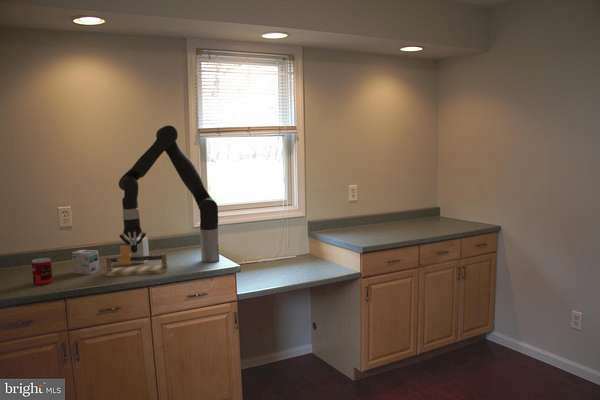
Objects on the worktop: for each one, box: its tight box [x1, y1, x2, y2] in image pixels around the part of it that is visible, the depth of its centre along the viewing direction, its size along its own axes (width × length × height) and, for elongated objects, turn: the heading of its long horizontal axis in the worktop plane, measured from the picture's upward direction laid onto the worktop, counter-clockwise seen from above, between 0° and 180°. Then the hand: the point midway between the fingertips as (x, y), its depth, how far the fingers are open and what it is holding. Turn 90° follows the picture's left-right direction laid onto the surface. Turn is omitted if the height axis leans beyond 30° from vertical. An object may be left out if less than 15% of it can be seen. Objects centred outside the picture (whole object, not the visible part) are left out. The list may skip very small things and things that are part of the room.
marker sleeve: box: [118, 245, 133, 266], centre depth 240 cm, size 5×4×9 cm
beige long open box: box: [105, 253, 169, 277], centre depth 241 cm, size 28×10×8 cm, turn 99°
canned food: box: [31, 257, 54, 286], centre depth 224 cm, size 8×8×11 cm
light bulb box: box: [71, 249, 101, 276], centre depth 241 cm, size 11×7×11 cm, turn 71°
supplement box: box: [128, 236, 150, 264], centre depth 260 cm, size 7×7×13 cm
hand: (134, 252), depth 240 cm, fingers closed
